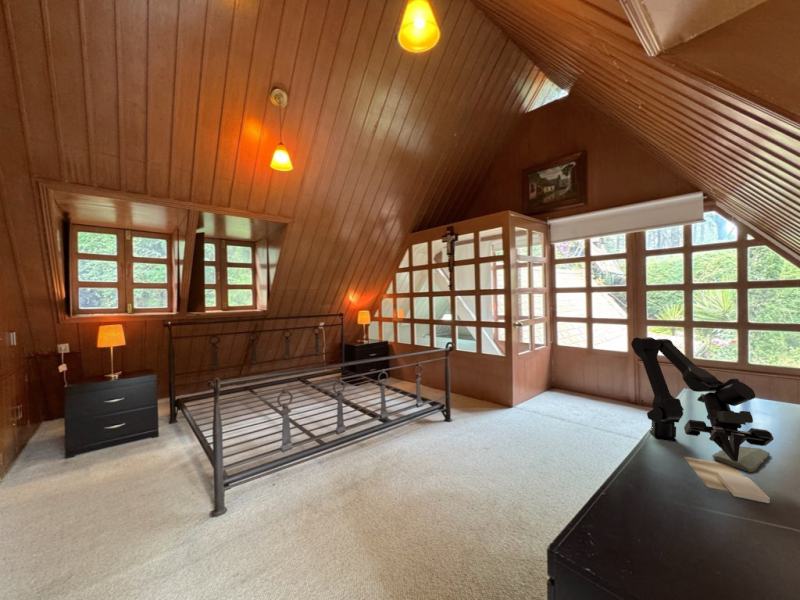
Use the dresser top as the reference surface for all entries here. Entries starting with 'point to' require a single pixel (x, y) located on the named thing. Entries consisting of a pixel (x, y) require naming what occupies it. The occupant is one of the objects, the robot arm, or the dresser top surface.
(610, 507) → the dresser top surface
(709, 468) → the tan wooden board
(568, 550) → the dresser top surface
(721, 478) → the glazed tile
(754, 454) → the stone slab
